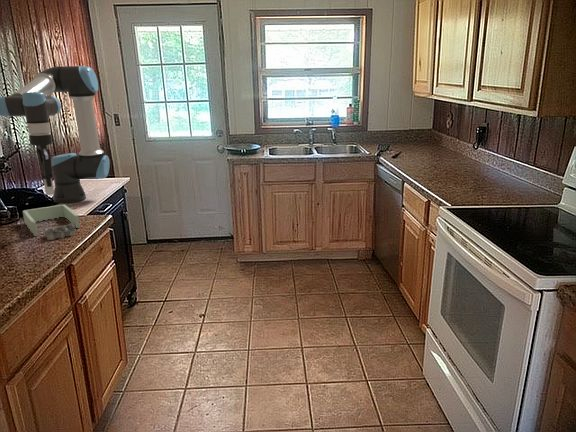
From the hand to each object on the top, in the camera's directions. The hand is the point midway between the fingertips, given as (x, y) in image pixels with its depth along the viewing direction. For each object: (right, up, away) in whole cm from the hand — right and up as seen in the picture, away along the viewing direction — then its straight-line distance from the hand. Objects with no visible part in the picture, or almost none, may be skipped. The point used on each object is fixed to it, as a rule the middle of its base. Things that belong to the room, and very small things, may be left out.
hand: (50, 194), depth 177 cm
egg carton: (+6, -17, -4) cm, 18 cm away
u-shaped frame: (-4, -13, +8) cm, 16 cm away
